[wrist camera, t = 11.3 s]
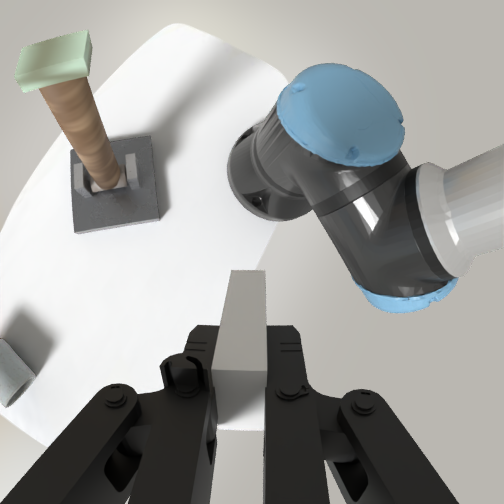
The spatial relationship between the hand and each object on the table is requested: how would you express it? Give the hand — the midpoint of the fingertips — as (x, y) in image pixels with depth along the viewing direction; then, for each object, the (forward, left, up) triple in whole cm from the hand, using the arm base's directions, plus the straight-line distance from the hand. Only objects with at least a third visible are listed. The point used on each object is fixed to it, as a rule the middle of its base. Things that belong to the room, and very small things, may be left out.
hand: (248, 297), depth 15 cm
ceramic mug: (+32, +10, -30) cm, 46 cm away
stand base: (+10, -15, -30) cm, 35 cm away
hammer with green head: (+10, -15, -28) cm, 33 cm away
